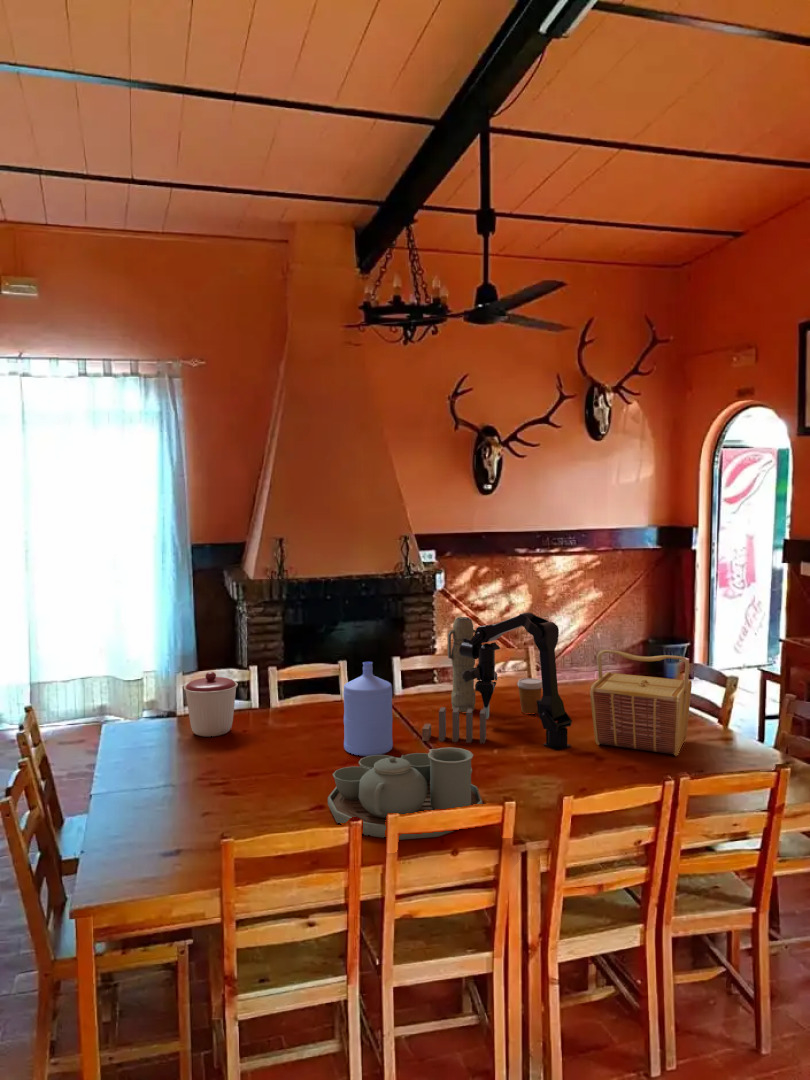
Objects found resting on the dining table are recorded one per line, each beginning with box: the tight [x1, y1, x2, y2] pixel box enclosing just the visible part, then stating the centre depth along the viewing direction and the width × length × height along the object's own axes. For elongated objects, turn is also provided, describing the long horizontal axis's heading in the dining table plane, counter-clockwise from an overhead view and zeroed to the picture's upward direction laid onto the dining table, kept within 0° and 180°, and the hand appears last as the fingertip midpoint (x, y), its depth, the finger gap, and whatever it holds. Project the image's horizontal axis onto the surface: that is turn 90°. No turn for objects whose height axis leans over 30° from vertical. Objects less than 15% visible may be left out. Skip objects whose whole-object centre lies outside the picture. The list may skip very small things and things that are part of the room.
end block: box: [421, 723, 432, 742], centre depth 264 cm, size 2×6×4 cm, turn 169°
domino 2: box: [451, 708, 460, 743], centre depth 262 cm, size 2×5×10 cm, turn 169°
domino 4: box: [479, 708, 487, 745], centre depth 260 cm, size 2×5×10 cm, turn 169°
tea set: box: [327, 746, 483, 841], centre depth 206 cm, size 40×40×16 cm
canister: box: [183, 671, 239, 738], centre depth 271 cm, size 18×18×21 cm
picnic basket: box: [589, 649, 693, 757], centre depth 256 cm, size 29×26×30 cm
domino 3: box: [465, 709, 474, 744], centre depth 261 cm, size 2×5×10 cm, turn 169°
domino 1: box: [438, 706, 447, 742], centre depth 263 cm, size 2×5×10 cm, turn 169°
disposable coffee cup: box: [516, 677, 543, 714], centre depth 294 cm, size 10×10×12 cm
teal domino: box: [483, 704, 490, 720], centre depth 275 cm, size 2×5×10 cm, turn 169°
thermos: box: [447, 616, 476, 712], centre depth 297 cm, size 9×12×35 cm
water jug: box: [342, 661, 394, 757], centre depth 253 cm, size 16×16×28 cm
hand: (486, 705), depth 275 cm, fingers closed on teal domino, 5 cm apart
